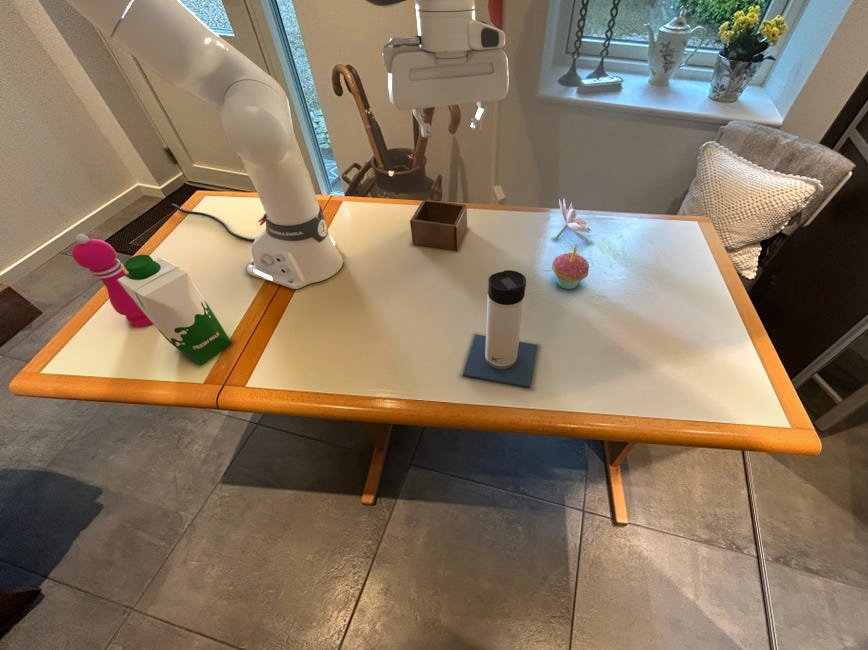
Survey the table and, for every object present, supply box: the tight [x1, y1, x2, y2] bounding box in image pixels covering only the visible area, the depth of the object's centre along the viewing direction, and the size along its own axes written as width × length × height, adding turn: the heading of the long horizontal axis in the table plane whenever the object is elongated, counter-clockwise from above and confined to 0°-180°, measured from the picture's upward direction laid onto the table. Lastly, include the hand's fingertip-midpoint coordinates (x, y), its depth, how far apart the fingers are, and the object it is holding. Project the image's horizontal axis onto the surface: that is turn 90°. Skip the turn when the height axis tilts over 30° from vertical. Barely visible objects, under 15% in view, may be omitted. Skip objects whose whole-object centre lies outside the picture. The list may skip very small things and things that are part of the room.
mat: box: [462, 334, 538, 389], centre depth 80 cm, size 13×11×1 cm
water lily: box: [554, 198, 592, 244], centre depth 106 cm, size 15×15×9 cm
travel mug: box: [485, 269, 527, 370], centre depth 72 cm, size 6×7×20 cm
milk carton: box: [118, 254, 233, 366], centre depth 73 cm, size 9×9×20 cm
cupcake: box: [551, 243, 590, 290], centre depth 92 cm, size 9×8×12 cm
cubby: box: [409, 199, 468, 252], centre depth 106 cm, size 12×11×7 cm
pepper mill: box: [71, 233, 154, 328], centre depth 79 cm, size 7×7×20 cm
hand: (452, 133), depth 72 cm, fingers open, 8 cm apart
